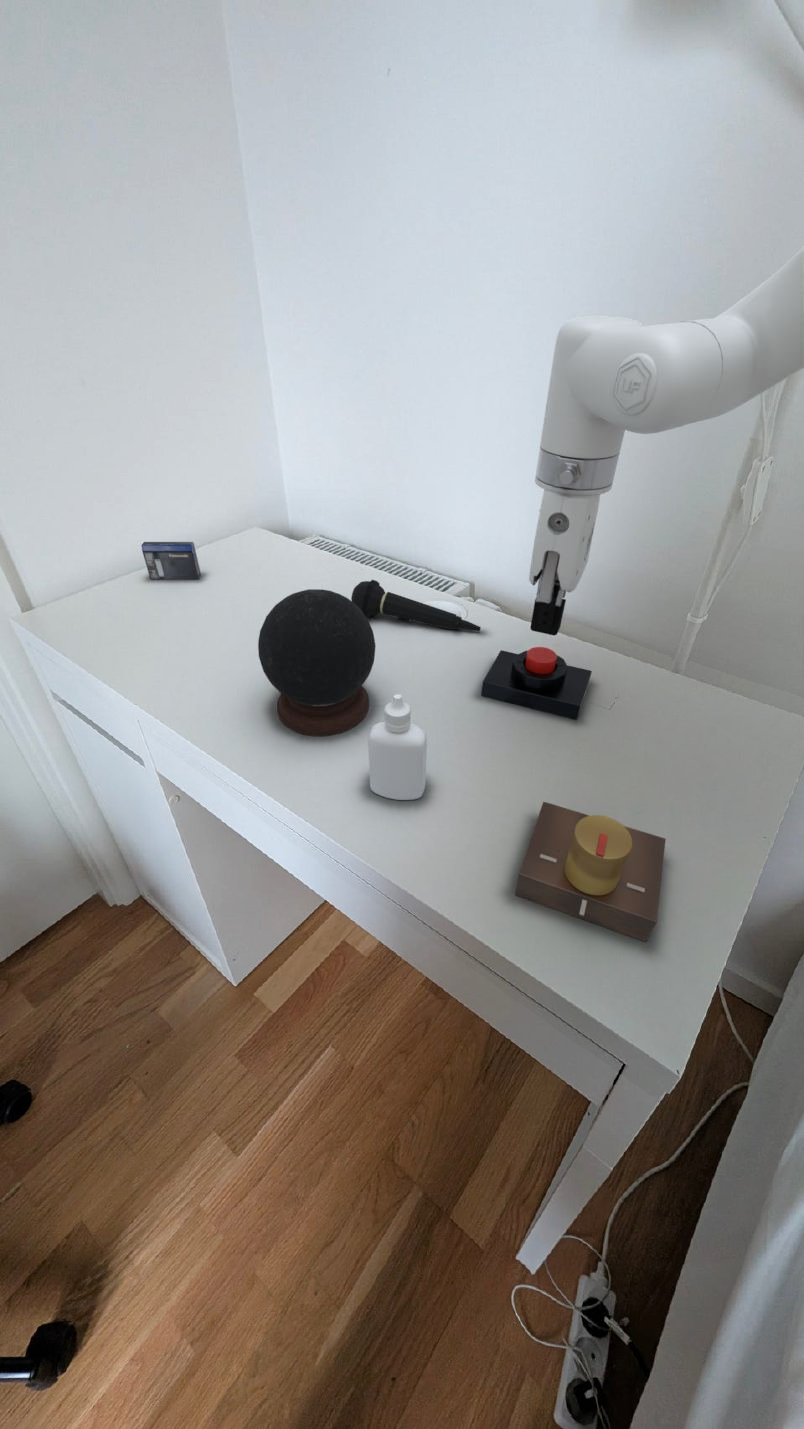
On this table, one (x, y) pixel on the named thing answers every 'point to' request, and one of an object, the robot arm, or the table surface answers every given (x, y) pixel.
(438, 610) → the microphone
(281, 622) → the black ball on stand
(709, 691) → the table surface
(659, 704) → the table surface
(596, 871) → the knob
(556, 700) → the button box
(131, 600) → the table surface
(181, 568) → the mini dv tape
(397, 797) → the eye dropper bottle
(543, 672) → the button
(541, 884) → the panel
